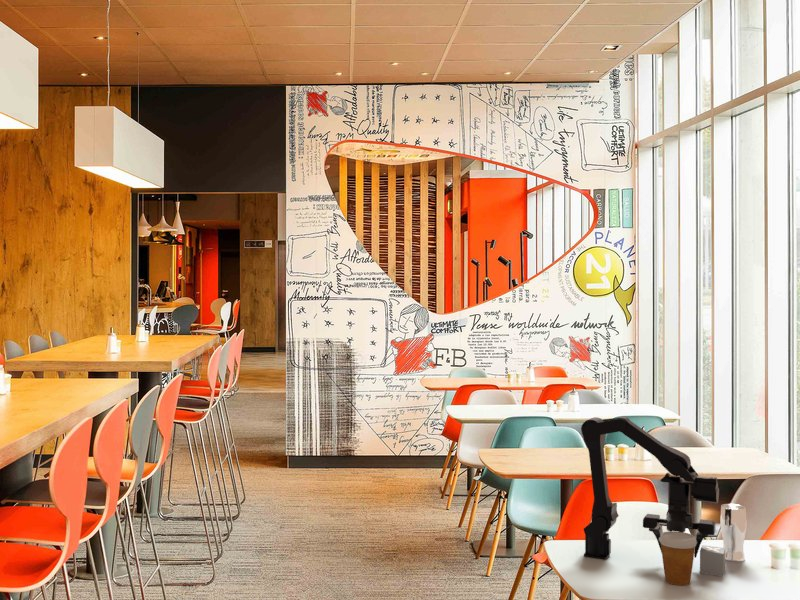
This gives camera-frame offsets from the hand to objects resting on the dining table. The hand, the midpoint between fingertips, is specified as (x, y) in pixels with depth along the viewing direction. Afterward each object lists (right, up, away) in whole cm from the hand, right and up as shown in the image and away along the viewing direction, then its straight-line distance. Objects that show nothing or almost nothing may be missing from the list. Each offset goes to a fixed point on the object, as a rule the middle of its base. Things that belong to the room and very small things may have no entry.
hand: (678, 555), depth 229 cm
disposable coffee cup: (-4, -3, -12) cm, 14 cm away
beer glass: (+18, -4, +8) cm, 20 cm away
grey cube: (+8, -3, -4) cm, 9 cm away
